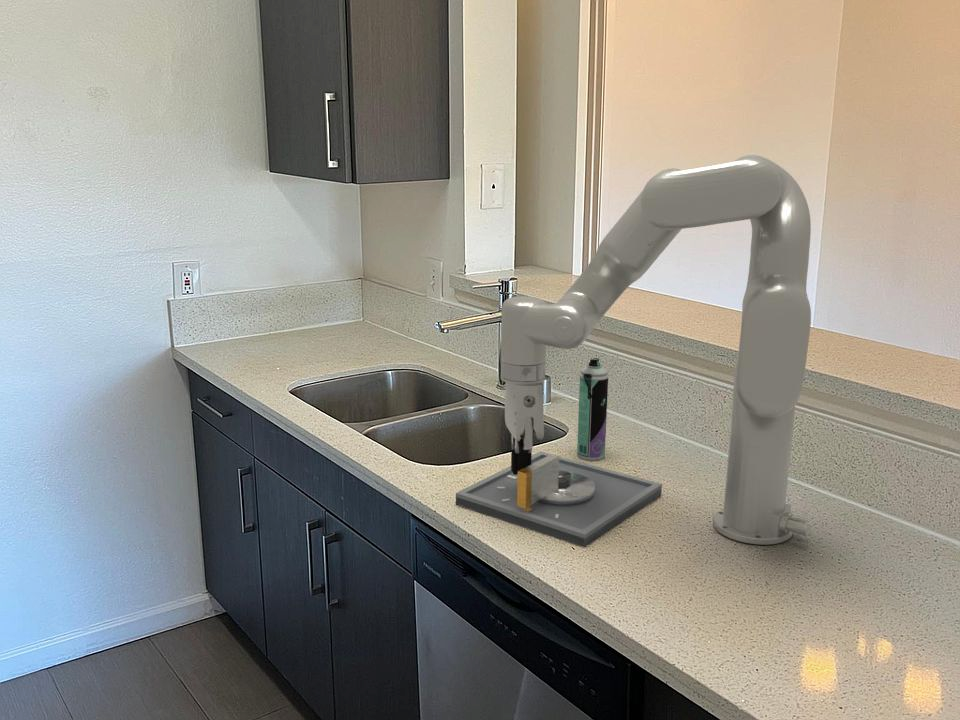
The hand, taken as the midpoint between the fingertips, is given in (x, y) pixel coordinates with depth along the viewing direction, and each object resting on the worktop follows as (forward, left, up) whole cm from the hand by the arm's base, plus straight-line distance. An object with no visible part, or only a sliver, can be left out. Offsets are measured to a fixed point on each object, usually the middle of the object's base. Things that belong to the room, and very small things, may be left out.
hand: (521, 472), depth 159 cm
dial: (-5, -2, -4) cm, 7 cm away
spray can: (+2, -27, -6) cm, 28 cm away
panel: (-5, -5, -6) cm, 9 cm away
